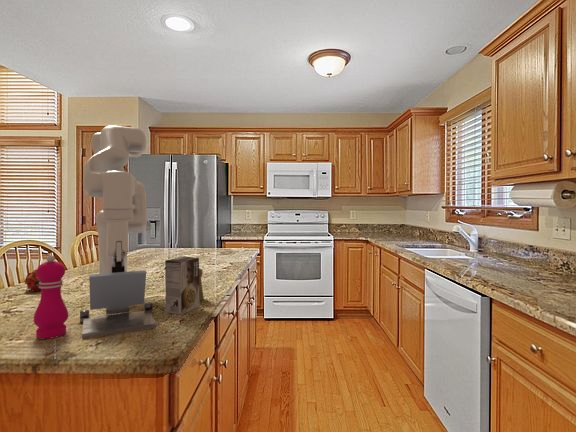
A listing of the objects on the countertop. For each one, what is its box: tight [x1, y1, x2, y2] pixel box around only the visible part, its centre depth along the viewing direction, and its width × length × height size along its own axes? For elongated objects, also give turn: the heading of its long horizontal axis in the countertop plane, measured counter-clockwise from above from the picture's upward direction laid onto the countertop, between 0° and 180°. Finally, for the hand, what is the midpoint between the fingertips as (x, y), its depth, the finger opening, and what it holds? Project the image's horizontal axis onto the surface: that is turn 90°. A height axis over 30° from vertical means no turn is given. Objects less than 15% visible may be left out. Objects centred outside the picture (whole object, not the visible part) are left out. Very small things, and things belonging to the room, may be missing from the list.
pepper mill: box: [33, 254, 69, 339], centre depth 88 cm, size 7×7×20 cm
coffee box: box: [164, 256, 200, 315], centre depth 110 cm, size 9×6×16 cm
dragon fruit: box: [24, 269, 41, 292], centre depth 137 cm, size 8×8×12 cm
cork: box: [199, 267, 205, 302], centre depth 123 cm, size 6×6×11 cm
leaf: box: [89, 270, 147, 316], centre depth 100 cm, size 15×14×2 cm
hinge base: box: [79, 302, 157, 339], centre depth 97 cm, size 17×19×3 cm
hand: (118, 280), depth 99 cm, fingers closed
